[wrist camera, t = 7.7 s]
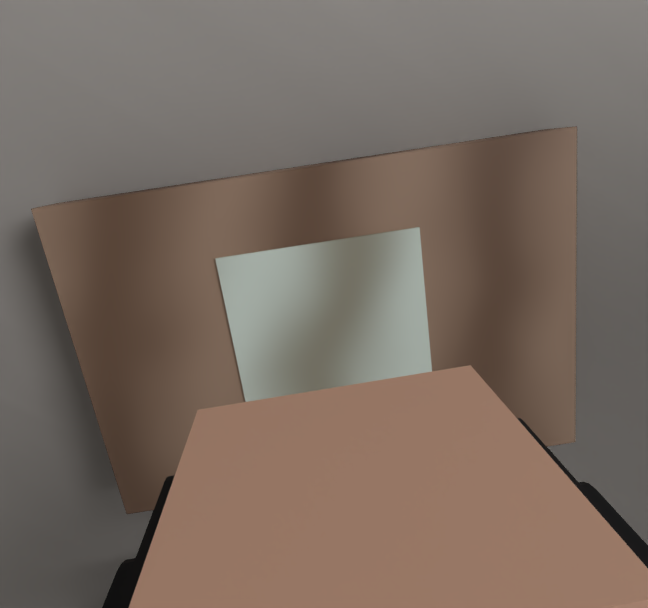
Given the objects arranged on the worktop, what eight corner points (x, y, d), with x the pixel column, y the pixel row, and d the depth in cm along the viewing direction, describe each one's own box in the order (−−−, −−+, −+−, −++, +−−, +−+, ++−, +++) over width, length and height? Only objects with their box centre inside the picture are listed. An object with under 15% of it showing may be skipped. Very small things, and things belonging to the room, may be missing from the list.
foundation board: (547, 128, 18) (578, 126, 16) (550, 416, 22) (576, 443, 20) (58, 202, 18) (29, 209, 16) (141, 482, 22) (126, 515, 20)
